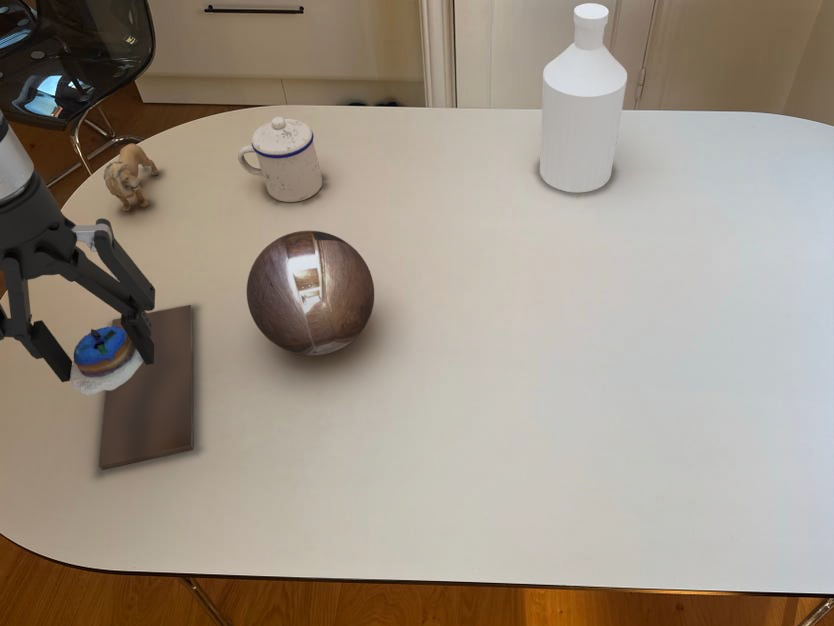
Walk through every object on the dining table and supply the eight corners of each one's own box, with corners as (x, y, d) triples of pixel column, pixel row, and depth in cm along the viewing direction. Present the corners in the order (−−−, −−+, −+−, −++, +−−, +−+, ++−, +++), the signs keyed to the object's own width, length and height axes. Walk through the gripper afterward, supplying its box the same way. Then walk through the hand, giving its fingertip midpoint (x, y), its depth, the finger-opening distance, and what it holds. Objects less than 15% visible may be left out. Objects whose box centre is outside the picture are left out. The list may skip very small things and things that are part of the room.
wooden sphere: (293, 399, 85) (261, 314, 73) (247, 323, 93) (211, 235, 81) (402, 345, 90) (388, 257, 78) (349, 278, 98) (329, 189, 86)
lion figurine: (155, 220, 107) (131, 170, 100) (119, 226, 106) (92, 176, 99) (160, 164, 116) (139, 115, 109) (127, 169, 115) (103, 120, 108)
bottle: (527, 183, 110) (533, 23, 91) (552, 142, 117) (563, -15, 98) (600, 200, 107) (623, 38, 88) (621, 158, 114) (646, -1, 95)
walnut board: (101, 469, 79) (98, 466, 78) (115, 323, 93) (112, 319, 92) (193, 449, 80) (191, 445, 80) (192, 308, 95) (190, 304, 94)
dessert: (124, 319, 78) (116, 307, 72) (162, 367, 78) (156, 358, 73) (56, 361, 75) (42, 352, 70) (95, 410, 76) (85, 405, 70)
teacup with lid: (327, 168, 114) (313, 102, 105) (320, 203, 108) (303, 137, 99) (254, 169, 114) (233, 104, 105) (242, 205, 108) (219, 138, 99)
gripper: (-166, 238, 53) (0, 412, 71) (117, 190, 56) (209, 369, 74) (-138, 180, 58) (11, 357, 75) (123, 138, 61) (207, 318, 78)
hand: (109, 363), depth 75 cm, fingers closed on dessert, 8 cm apart
